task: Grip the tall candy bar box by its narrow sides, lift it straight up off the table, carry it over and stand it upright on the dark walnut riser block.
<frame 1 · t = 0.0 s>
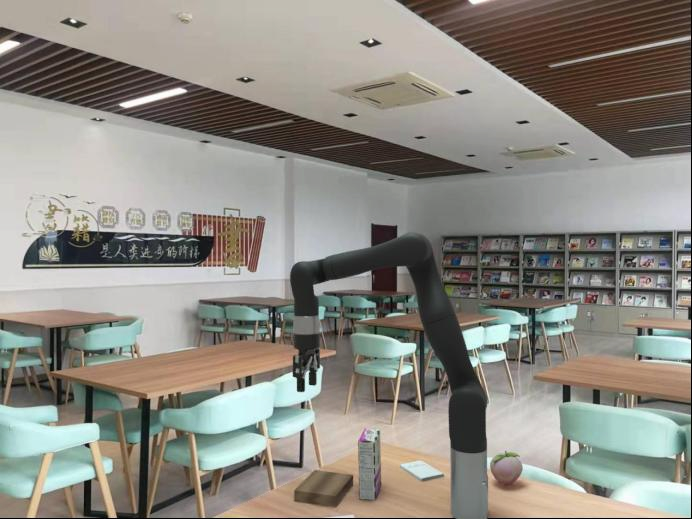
hand: (306, 388, 153), 29 cm above the table, tool pointing down, fingers open, 8 cm apart
external hard drive: (421, 474, 167), on the table
walnut riser: (324, 492, 152), on the table
candy bar box: (370, 492, 153), on the table
decorative fruit: (505, 485, 157), on the table
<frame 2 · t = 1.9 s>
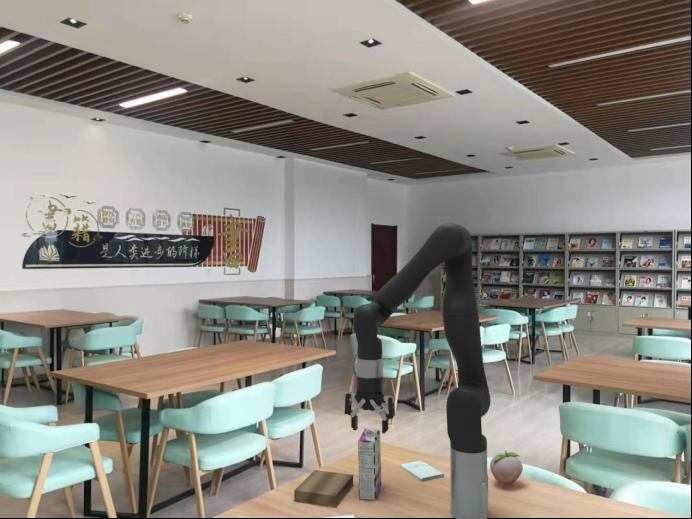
hand: (369, 431, 153), 17 cm above the table, tool pointing down, fingers open, 8 cm apart
nothing on the table moved.
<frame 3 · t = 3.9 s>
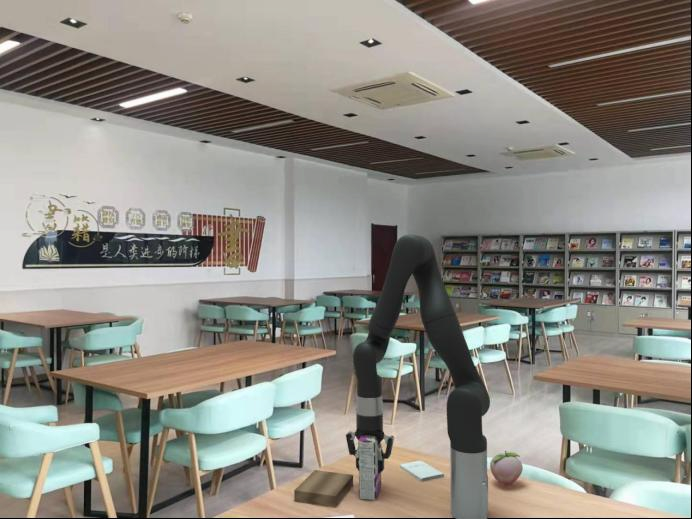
hand: (369, 470, 153), 6 cm above the table, tool pointing down, fingers closed on candy bar box, 5 cm apart
candy bar box: (370, 492, 153), on the table, touching gripper
everything else where it was.
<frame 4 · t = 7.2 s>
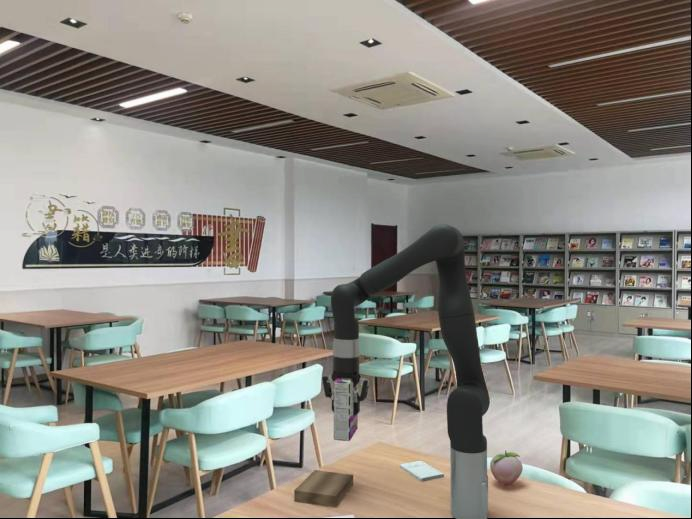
hand: (345, 413, 153), 22 cm above the table, tool pointing down, fingers closed on candy bar box, 5 cm apart
candy bar box: (345, 435, 153), point 16 cm above the table, touching gripper
everything else where it was.
when the fingers open (10 cm above the table, at t = 10.6 s): candy bar box drops 1 cm, resting on walnut riser.
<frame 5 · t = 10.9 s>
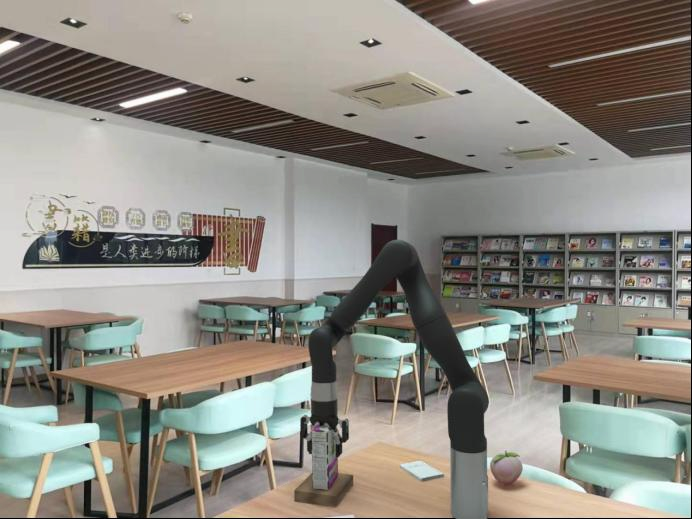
hand: (324, 454, 152), 11 cm above the table, tool pointing down, fingers open, 7 cm apart
candy bar box: (325, 483, 152), point 3 cm above the table, touching walnut riser
everything else where it was.
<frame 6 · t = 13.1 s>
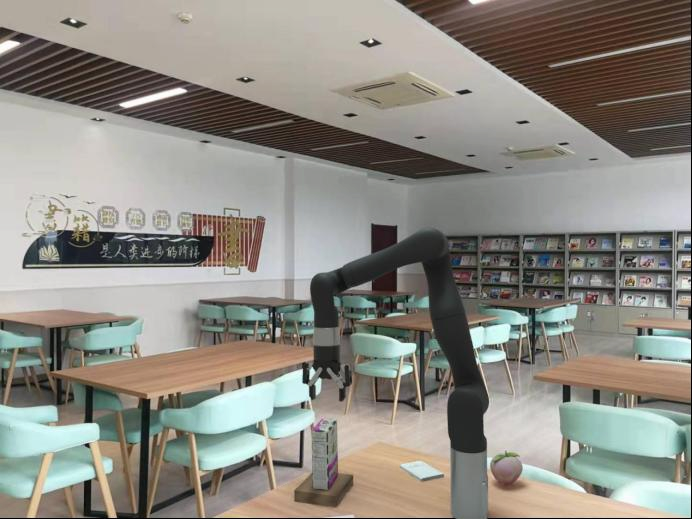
hand: (327, 400, 153), 26 cm above the table, tool pointing down, fingers open, 8 cm apart
nothing on the table moved.
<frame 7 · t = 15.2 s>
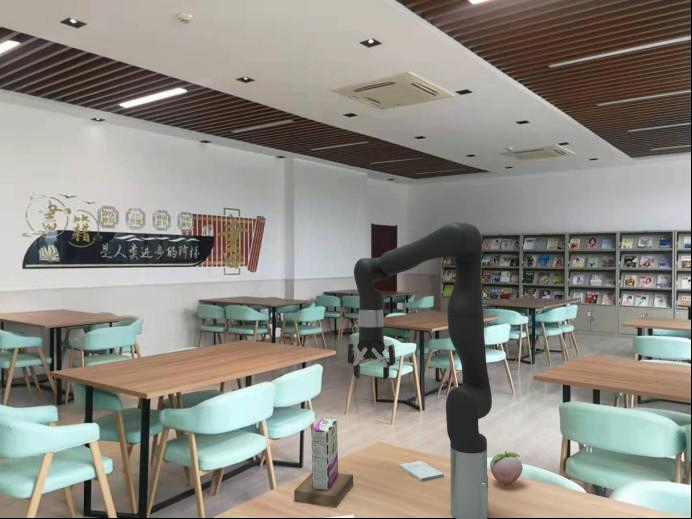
hand: (371, 378, 162), 30 cm above the table, tool pointing down, fingers open, 8 cm apart
nothing on the table moved.
at the end: candy bar box 0.1 cm off-centre on the walnut riser, point 2.8 cm above the walnut riser's base; candy bar box tilted 0°; the gripper is holding nothing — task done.
